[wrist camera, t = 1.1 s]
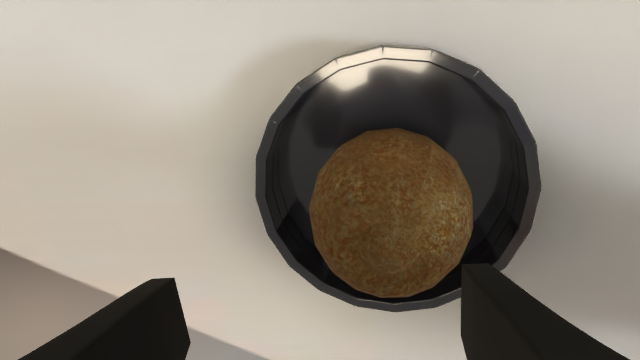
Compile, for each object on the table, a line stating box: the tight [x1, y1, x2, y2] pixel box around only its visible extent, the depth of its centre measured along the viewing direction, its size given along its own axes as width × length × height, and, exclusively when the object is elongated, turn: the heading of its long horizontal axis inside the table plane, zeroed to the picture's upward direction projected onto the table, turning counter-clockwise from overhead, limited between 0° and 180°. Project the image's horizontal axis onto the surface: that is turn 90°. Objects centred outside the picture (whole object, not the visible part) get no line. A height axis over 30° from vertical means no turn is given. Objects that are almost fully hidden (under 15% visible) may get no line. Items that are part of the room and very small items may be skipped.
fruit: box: [309, 128, 473, 298], centre depth 16 cm, size 6×6×8 cm
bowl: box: [256, 45, 541, 312], centre depth 19 cm, size 12×12×3 cm
